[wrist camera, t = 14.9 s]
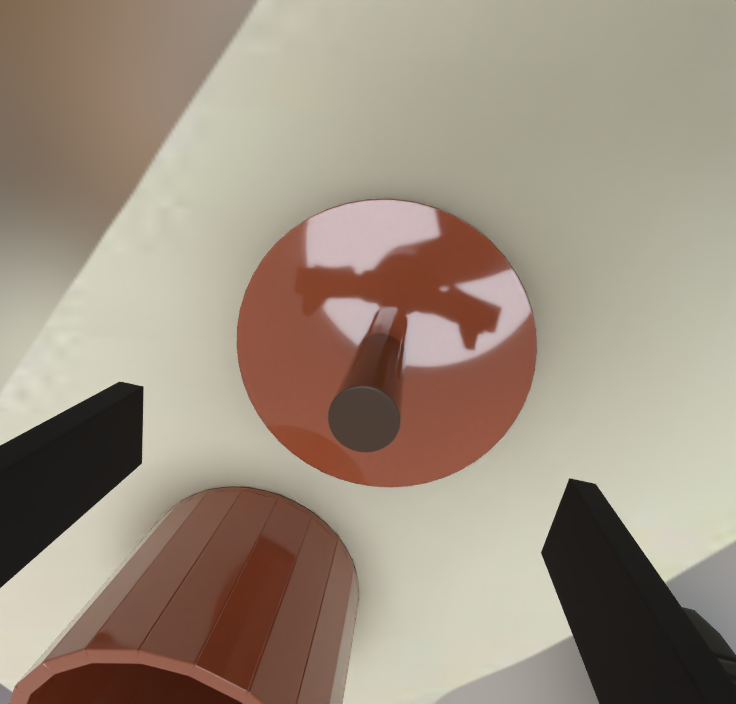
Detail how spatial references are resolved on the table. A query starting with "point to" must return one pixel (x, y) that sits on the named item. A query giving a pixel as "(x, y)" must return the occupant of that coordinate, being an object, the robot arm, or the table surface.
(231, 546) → the pot
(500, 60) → the table surface
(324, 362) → the lid
